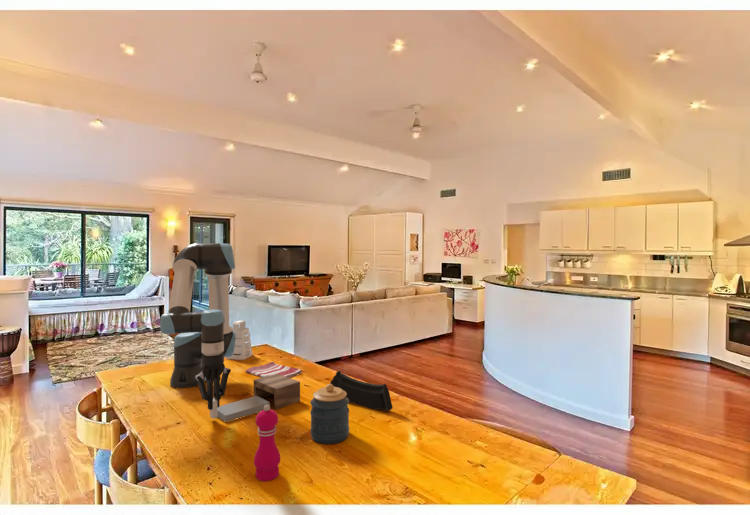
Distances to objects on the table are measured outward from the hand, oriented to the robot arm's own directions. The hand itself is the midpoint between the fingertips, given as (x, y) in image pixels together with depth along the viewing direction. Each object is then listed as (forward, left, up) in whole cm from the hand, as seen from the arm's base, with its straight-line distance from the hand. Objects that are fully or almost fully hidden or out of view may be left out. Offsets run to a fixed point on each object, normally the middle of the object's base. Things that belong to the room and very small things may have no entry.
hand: (213, 417), depth 155 cm
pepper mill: (+45, -8, -2) cm, 46 cm away
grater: (-70, +51, -2) cm, 87 cm away
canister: (+40, +20, -2) cm, 45 cm away
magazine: (+28, +48, -2) cm, 55 cm away
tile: (0, +11, -2) cm, 12 cm away
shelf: (0, +26, -1) cm, 27 cm away
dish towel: (-31, +47, -2) cm, 57 cm away
